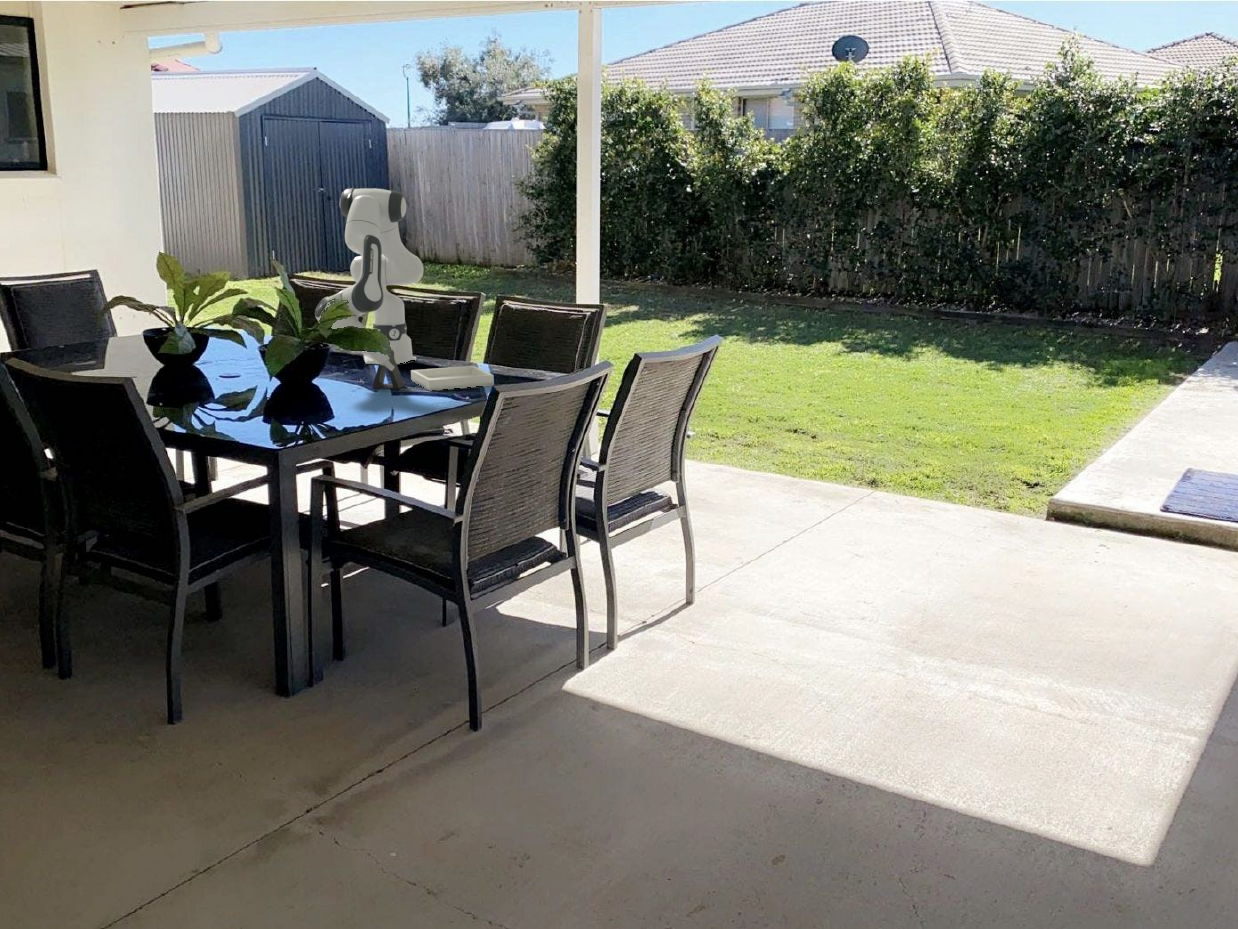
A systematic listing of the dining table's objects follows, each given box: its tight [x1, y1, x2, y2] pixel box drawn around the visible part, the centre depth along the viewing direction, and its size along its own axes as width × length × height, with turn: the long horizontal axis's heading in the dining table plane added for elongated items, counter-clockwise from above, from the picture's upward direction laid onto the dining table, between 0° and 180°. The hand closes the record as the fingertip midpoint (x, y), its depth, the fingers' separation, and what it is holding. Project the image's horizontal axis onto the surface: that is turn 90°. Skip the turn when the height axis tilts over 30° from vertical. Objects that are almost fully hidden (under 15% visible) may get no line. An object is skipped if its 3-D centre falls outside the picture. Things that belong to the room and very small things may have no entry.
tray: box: [410, 365, 495, 392], centre depth 384 cm, size 20×22×4 cm
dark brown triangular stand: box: [371, 349, 405, 390], centre depth 376 cm, size 9×6×12 cm, turn 82°
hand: (389, 367), depth 376 cm, fingers closed on dark brown triangular stand, 7 cm apart
